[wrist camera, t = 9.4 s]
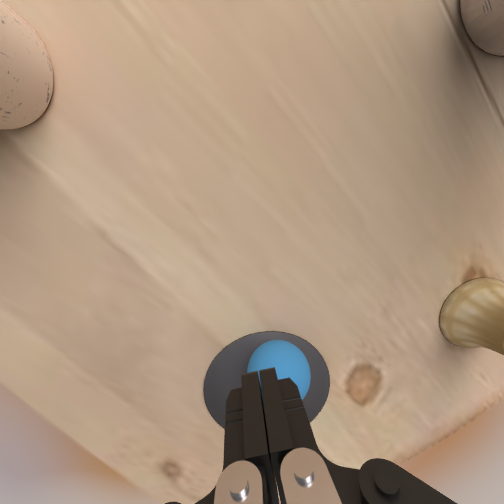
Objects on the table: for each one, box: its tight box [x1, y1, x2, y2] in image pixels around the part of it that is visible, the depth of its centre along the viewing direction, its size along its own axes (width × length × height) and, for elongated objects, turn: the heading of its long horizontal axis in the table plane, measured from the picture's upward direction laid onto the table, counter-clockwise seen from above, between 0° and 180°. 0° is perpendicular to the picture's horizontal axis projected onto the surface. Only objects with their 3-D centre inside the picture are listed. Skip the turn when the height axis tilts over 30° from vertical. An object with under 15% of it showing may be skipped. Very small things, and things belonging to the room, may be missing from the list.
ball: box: [247, 340, 311, 400], centre depth 24 cm, size 6×6×6 cm
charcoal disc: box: [204, 331, 330, 429], centre depth 27 cm, size 14×14×1 cm
